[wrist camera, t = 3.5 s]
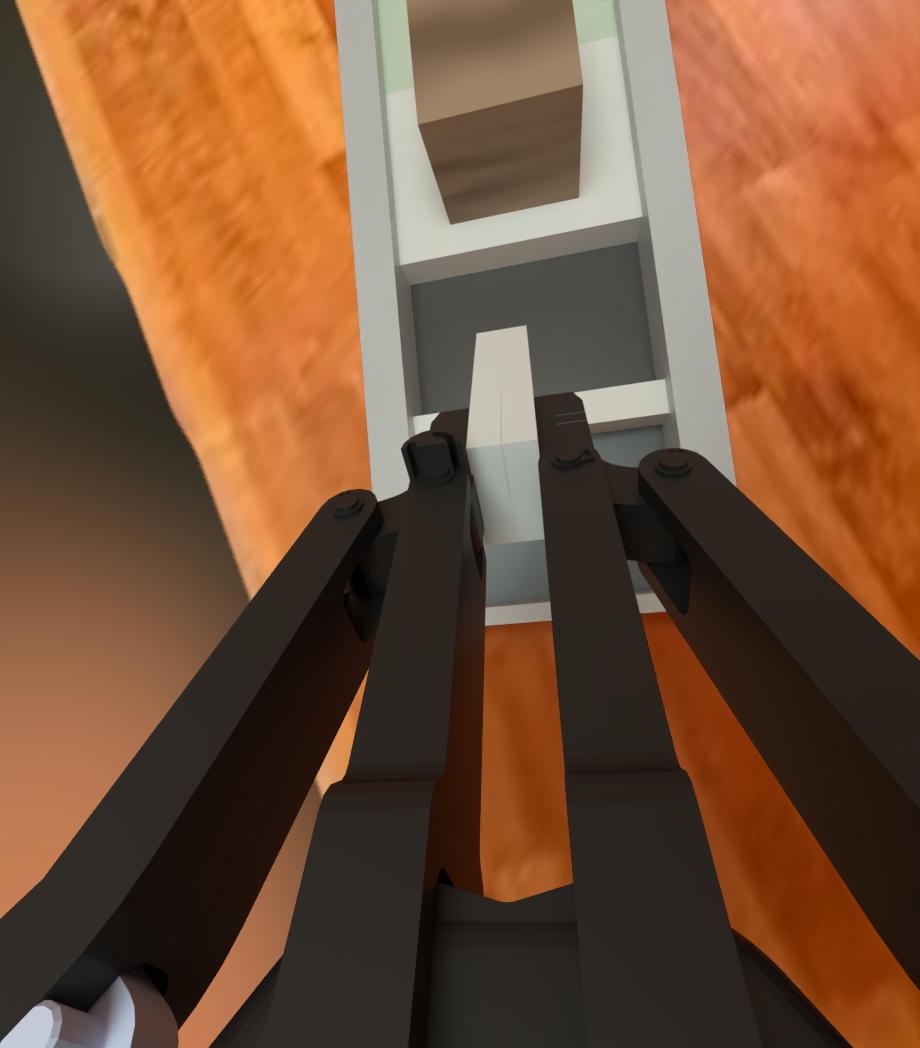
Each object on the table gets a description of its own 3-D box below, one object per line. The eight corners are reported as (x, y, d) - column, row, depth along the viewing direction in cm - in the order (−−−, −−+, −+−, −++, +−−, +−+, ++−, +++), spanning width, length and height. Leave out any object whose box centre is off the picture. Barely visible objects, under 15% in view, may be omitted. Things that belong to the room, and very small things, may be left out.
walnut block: (578, 197, 34) (583, 84, 26) (450, 224, 35) (417, 124, 27) (564, 78, 35) (564, -67, 27) (439, 109, 36) (404, -20, 28)
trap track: (728, 600, 33) (772, 607, 26) (405, 626, 36) (368, 638, 30) (624, -129, 38) (637, -282, 31) (350, -45, 42) (308, -166, 35)
